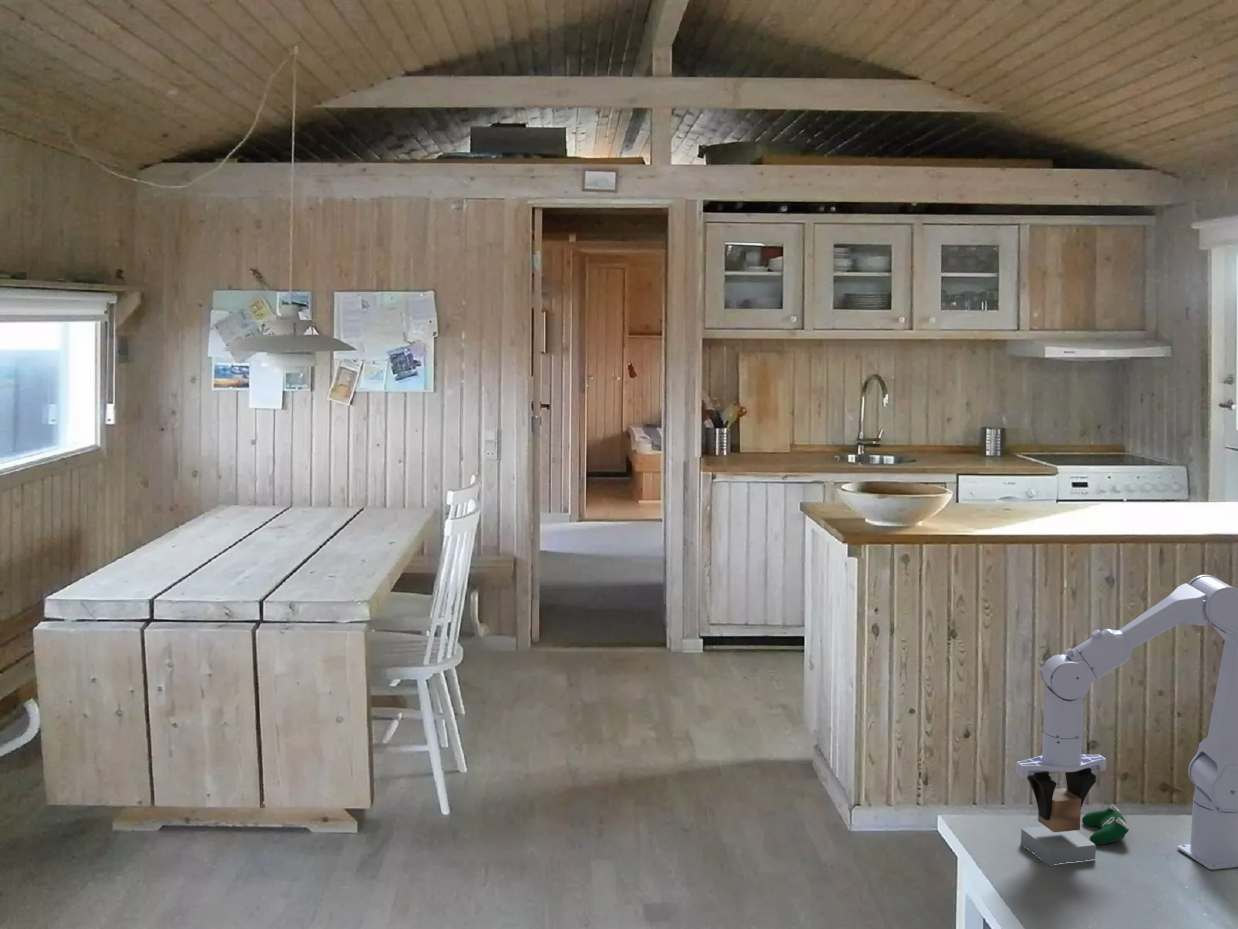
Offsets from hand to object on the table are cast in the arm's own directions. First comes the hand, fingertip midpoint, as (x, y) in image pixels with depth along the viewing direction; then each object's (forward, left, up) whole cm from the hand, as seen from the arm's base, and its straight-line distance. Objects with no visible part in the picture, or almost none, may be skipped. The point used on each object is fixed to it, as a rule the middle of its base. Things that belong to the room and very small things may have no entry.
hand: (1059, 816), depth 189 cm
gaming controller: (-11, -4, -6) cm, 13 cm away
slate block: (0, 0, -6) cm, 6 cm away
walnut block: (0, 0, -1) cm, 1 cm away
